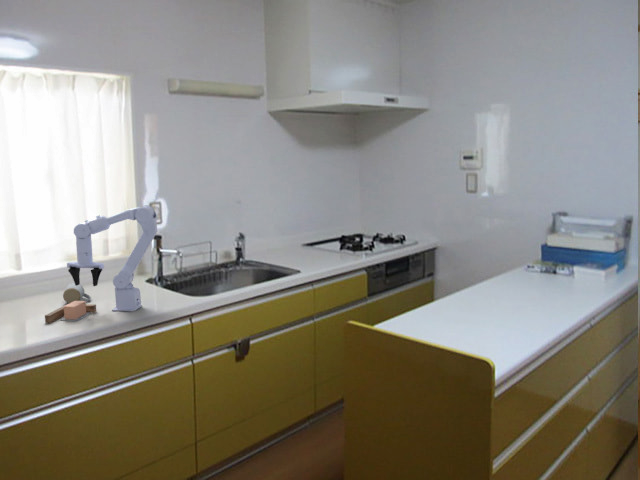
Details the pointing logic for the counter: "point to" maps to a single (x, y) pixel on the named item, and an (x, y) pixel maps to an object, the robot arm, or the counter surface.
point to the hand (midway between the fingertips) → (86, 285)
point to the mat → (77, 318)
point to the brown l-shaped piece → (60, 313)
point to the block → (75, 309)
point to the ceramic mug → (75, 293)
